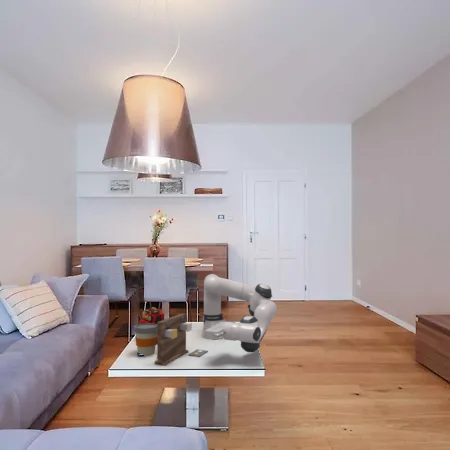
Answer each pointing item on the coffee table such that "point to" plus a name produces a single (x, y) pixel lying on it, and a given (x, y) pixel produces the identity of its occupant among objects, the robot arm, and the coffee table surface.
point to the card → (198, 353)
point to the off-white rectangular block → (186, 326)
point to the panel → (170, 340)
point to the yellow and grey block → (170, 333)
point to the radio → (151, 316)
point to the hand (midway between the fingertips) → (204, 328)
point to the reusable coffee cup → (146, 338)
